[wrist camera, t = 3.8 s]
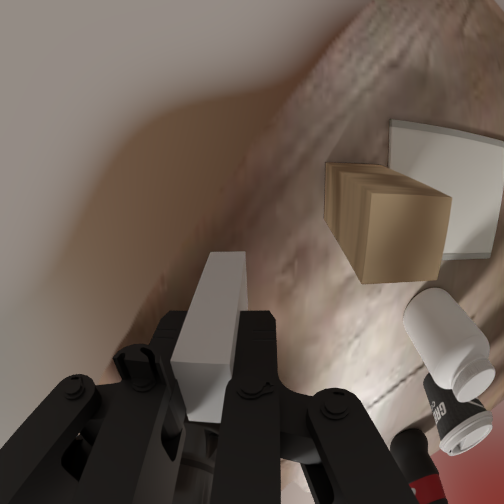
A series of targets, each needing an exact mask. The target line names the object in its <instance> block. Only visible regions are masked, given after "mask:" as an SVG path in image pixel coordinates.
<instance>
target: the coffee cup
mask: <svg viewBox="0 0 504 504" xmlns="http://www.w3.org/2000/svg"><path fill="white" fill-rule="evenodd" d="M423 385H424V388H425V391H426V394H427V397H428V400H429V403H430V406H431V409H432V412H433V416H434V419H435V422H436V425H437V429H438V432H439V436H440V440H441V442H440V445H439V447H440V448H441V449H442V450H443V451H444V452H447V454H448V455H450V456H454V455H457V454H461V453H463V452H465V451H467V450H469V449H471V448H472V447H474V446H475V445H477V444H478V443H479V442H481V441H482V440H483V439H484V438H485V437H486V436H487V435H488V434H489V433H490V431H491V429H492V420H493V418H492V412H491V411H487V410H486V409H485V408H484V406H483V405H482V403H481V402H480V400H479V399H478V398H477V397H476V398H474V399H472V400H470V401H468V402H459V401H458V400H457V399H456V397H455V395H454V393H453V390H452V389H444V388H441V387H440V386H438V385H437V384H436V383H435V381H434V380H433V378H432V376H431V374H430V372H429V374H428V375H427V376H426V377H425V379H424V382H423Z"/></svg>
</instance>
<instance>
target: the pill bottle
mask: <svg viewBox="0 0 504 504" xmlns="http://www.w3.org/2000/svg"><path fill="white" fill-rule="evenodd" d="M403 324H404V327H405V330H406V332H407V334H408V335H409V337H410V339H411V340H412V342H413V344H414V346H415V347H416V349H417V351H418V353H419V354H420V356H421V358H422V360H423V361H424V363H425V365H426V367H427V369H428V370H429V372H430V374H431V376H432V378H433V380H434V381H435V383H436V384H437V385H438V386H440V387H441V388H444V389H452V390H453V393H454V395H455V397H456V399H457V400H458V401H459V402H468V401H470V400H472V399H474V398H476V397H477V396H479V395H480V394H481V393H483V392H484V391H485V390H486V389H487V388H488V387H489V385H490V384H491V383H492V381H493V379H494V377H495V368H494V367H493V365H492V364H491V363H490V361H489V359H488V357H489V352H490V346H489V342H488V339H487V338H486V336H485V335H484V334H483V333H482V331H481V330H480V329H479V328H478V327H477V325H476V324H475V323H474V322H473V321H472V319H471V318H470V317H469V316H468V315H467V314H466V312H465V311H464V310H463V309H462V308H461V307H460V306H459V304H458V303H457V302H456V301H455V300H454V299H453V298H452V297H451V295H450V294H449V293H447V292H446V291H445V290H443V289H441V288H429V289H426V290H424V291H422V292H420V293H419V294H418V295H416V296H415V297H414V298H413V299H412V300H411V302H410V303H409V304H408V306H407V308H406V310H405V313H404V317H403Z"/></svg>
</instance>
